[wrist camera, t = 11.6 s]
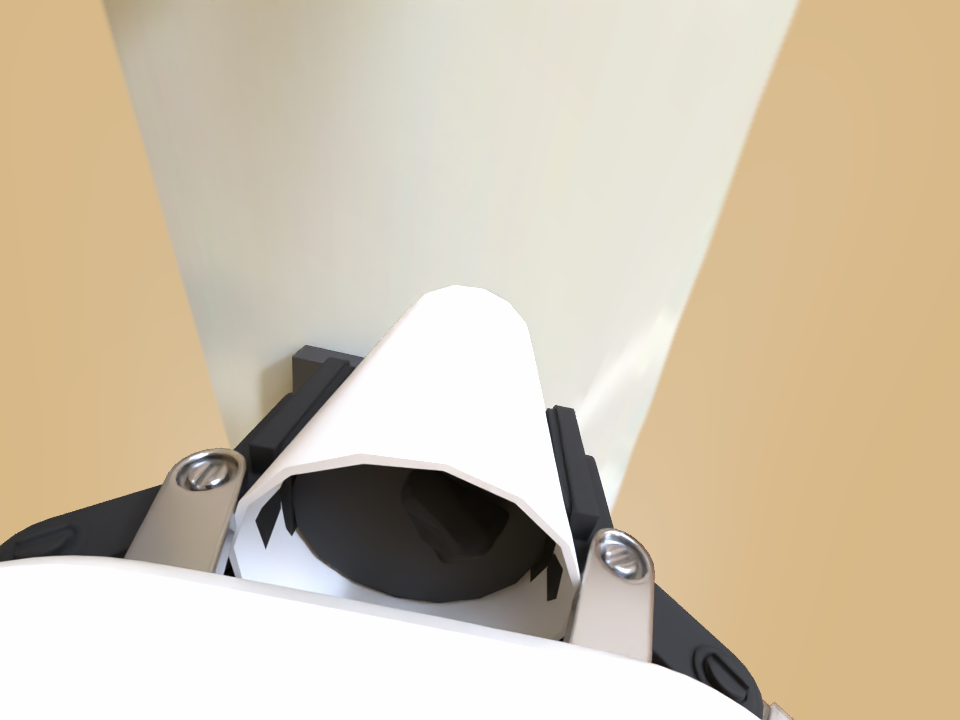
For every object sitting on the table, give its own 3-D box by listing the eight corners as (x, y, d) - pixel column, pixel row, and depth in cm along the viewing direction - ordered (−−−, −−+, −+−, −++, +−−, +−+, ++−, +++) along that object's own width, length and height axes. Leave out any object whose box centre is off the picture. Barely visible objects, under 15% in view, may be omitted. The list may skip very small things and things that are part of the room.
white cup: (447, 236, 14) (335, 371, 5) (577, 346, 16) (664, 593, 7) (355, 358, 17) (175, 586, 8) (474, 441, 18) (439, 707, 9)
